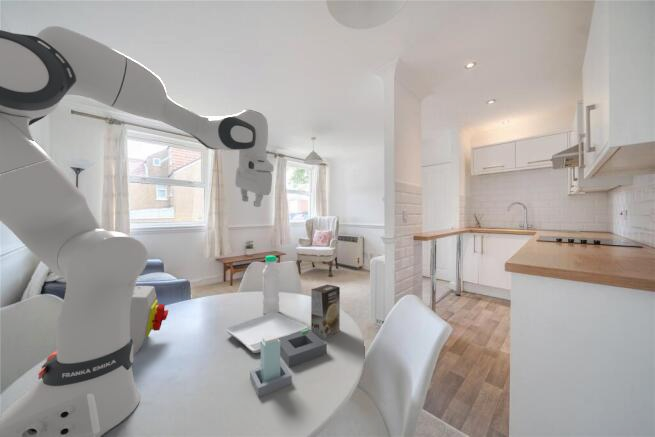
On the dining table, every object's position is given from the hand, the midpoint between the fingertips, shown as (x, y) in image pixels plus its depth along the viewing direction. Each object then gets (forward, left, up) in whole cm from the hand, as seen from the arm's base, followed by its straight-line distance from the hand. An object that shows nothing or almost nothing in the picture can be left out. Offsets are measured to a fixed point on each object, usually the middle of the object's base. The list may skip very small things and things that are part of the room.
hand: (250, 203), depth 83 cm
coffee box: (+24, -11, -47) cm, 54 cm away
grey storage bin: (-2, -27, -47) cm, 54 cm away
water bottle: (+13, +17, -47) cm, 51 cm away
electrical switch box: (-33, +15, -47) cm, 59 cm away
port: (+10, -19, -47) cm, 51 cm away
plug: (-2, -27, -46) cm, 53 cm away
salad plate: (+5, -2, -47) cm, 48 cm away
